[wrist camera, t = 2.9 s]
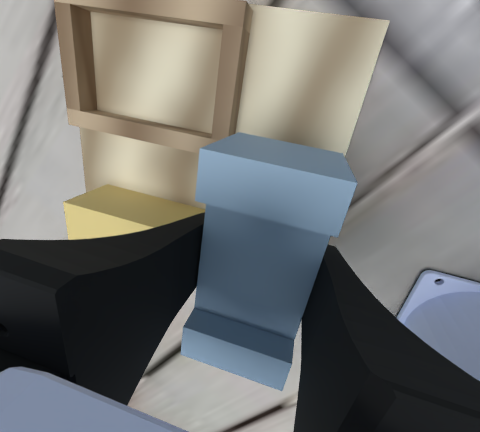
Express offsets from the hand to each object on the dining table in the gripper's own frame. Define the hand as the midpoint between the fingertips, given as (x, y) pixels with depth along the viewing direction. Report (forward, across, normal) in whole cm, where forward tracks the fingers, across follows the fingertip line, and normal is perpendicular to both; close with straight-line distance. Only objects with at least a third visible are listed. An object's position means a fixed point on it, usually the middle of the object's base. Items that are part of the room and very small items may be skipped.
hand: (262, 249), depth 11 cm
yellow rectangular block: (+7, +8, +4) cm, 11 cm away
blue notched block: (+1, 0, 0) cm, 1 cm away
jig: (+8, +6, -2) cm, 10 cm away
